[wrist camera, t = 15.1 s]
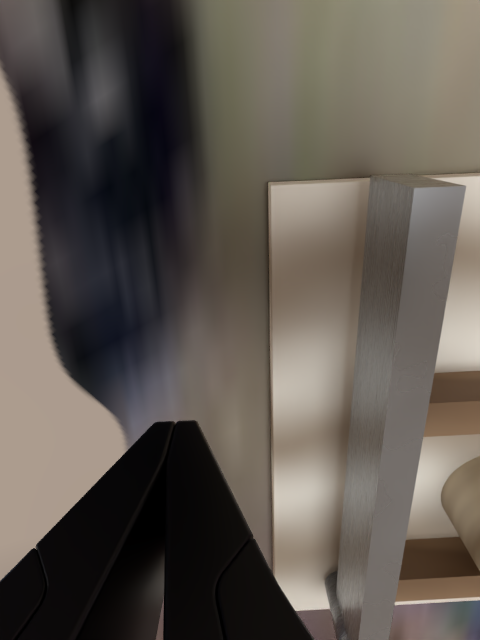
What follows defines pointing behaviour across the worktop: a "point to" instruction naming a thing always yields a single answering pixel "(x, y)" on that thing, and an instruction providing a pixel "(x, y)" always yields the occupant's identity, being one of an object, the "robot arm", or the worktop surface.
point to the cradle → (337, 386)
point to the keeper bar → (391, 390)
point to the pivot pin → (465, 505)
